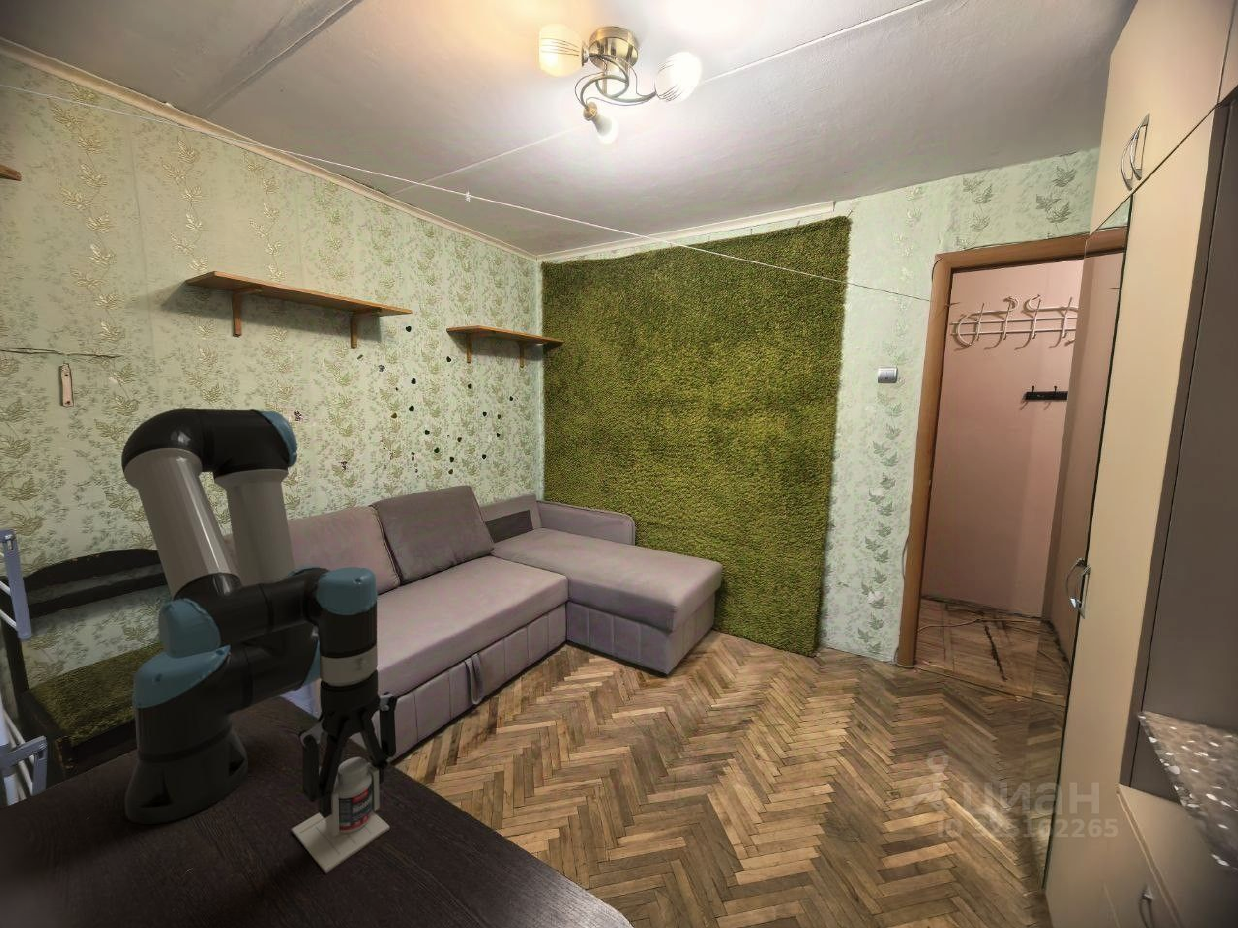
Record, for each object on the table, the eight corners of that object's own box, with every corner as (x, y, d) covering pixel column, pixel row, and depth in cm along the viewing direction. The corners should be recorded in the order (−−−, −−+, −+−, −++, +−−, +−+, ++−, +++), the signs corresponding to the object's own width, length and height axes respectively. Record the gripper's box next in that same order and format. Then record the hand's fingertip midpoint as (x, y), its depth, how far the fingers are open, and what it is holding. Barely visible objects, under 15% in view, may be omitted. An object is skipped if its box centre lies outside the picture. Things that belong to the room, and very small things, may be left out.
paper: (291, 831, 73) (291, 828, 72) (353, 794, 80) (353, 791, 80) (326, 872, 66) (325, 870, 66) (389, 828, 74) (389, 826, 73)
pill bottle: (355, 837, 71) (354, 781, 70) (325, 830, 72) (323, 775, 71) (380, 809, 76) (379, 756, 76) (351, 803, 77) (350, 751, 77)
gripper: (290, 712, 63) (296, 876, 65) (420, 658, 77) (421, 792, 80) (268, 691, 67) (274, 846, 69) (395, 643, 82) (397, 772, 84)
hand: (353, 817), depth 74 cm, fingers closed on pill bottle, 5 cm apart
